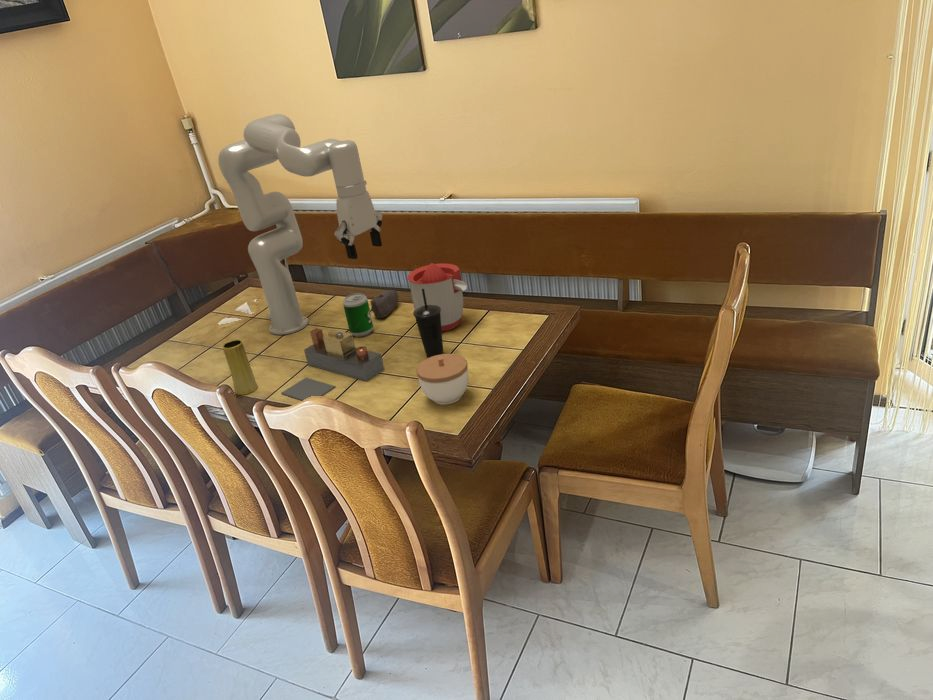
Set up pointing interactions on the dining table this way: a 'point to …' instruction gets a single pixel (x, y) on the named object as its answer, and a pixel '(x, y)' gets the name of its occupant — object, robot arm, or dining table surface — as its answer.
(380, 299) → the perforated stone tool
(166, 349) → the dining table surface
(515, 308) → the dining table surface
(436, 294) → the citrus juicer
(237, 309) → the paper scraps
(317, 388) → the mat
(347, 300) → the soda can
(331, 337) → the lever cap
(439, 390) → the lidded bowl
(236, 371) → the vase
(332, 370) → the plane body
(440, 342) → the drinking cup
